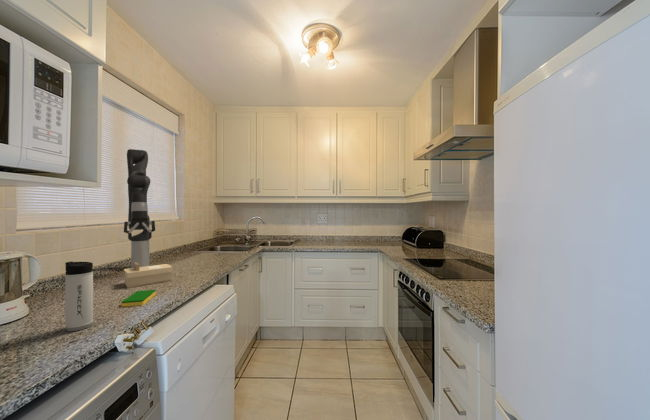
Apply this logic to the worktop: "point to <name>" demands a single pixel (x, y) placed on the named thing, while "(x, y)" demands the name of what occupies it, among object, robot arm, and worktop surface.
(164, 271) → the lid
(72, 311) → the travel mug
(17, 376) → the worktop surface
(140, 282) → the box
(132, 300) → the dish sponge
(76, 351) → the worktop surface
